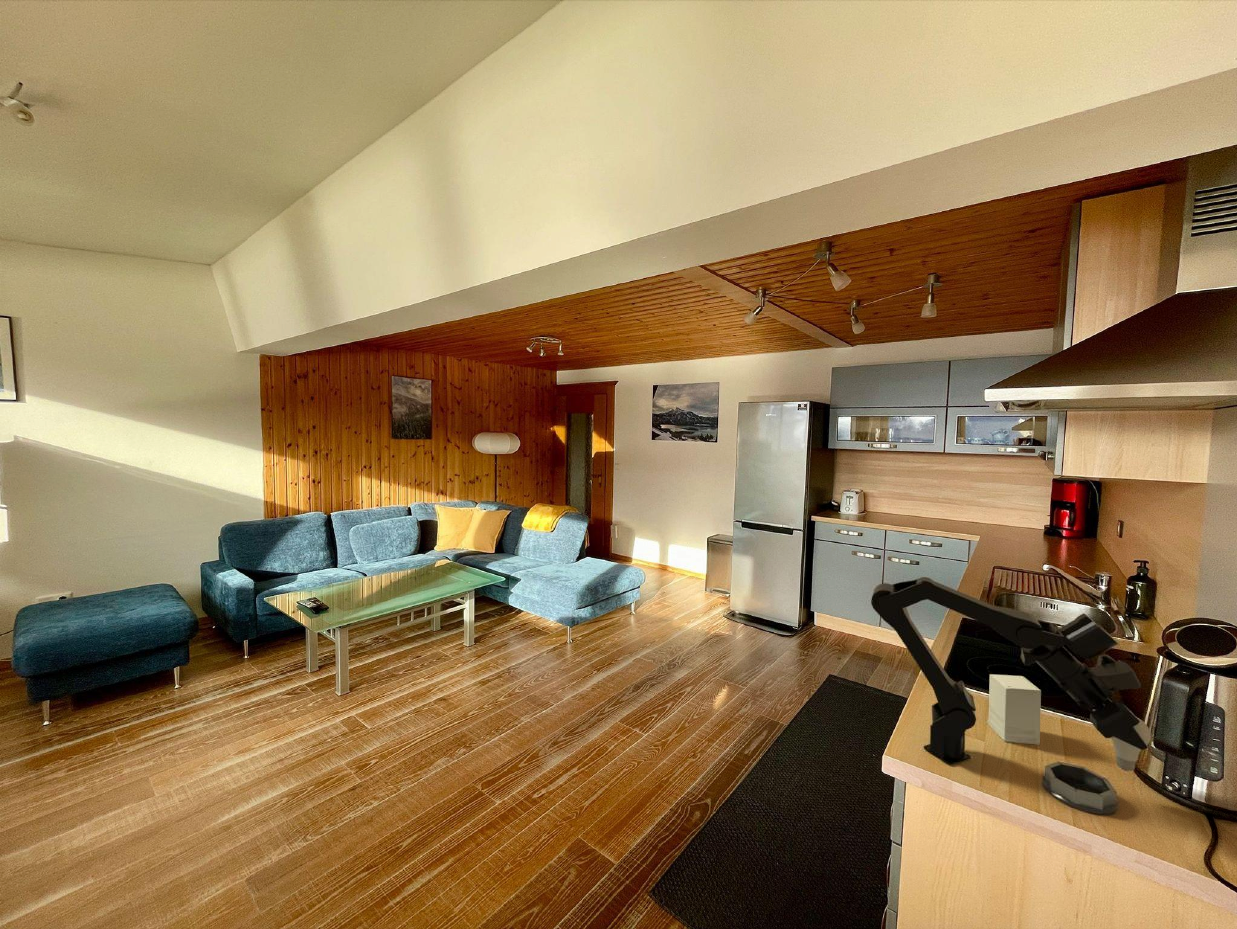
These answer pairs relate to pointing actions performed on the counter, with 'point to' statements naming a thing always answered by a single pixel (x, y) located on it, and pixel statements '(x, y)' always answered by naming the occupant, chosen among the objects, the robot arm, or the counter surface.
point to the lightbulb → (1130, 748)
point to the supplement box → (1014, 709)
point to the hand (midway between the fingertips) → (1136, 739)
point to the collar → (1080, 788)
